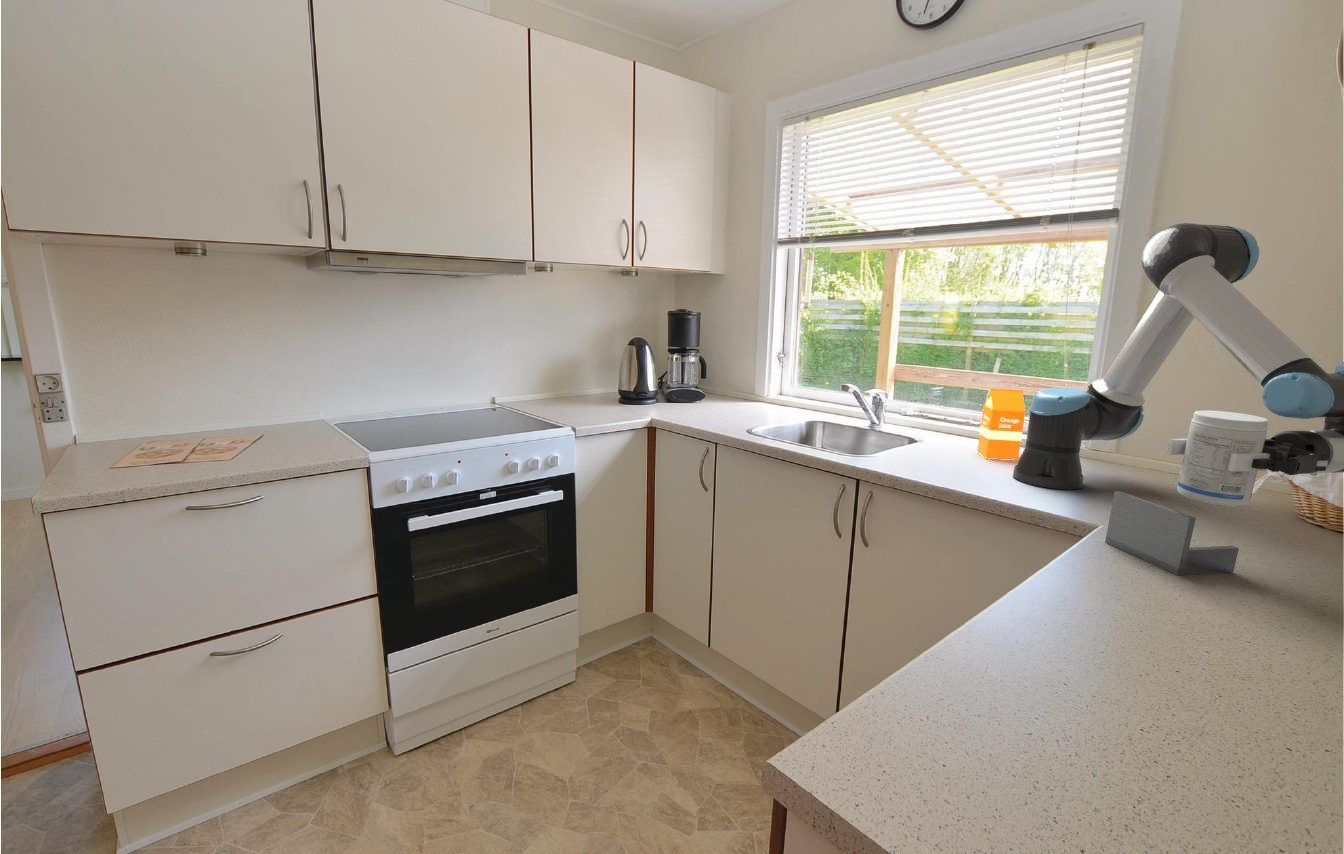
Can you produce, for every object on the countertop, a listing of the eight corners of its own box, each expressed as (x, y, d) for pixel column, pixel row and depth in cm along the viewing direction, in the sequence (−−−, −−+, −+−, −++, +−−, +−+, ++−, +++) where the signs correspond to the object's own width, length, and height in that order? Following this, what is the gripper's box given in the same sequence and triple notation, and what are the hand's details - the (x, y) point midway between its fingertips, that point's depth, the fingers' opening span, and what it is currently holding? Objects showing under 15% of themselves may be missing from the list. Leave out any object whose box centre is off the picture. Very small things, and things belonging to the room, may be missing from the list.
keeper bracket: (1105, 542, 113) (1114, 491, 111) (1155, 540, 114) (1165, 490, 112) (1177, 575, 99) (1189, 518, 97) (1233, 572, 101) (1246, 516, 99)
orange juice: (1018, 461, 172) (1028, 392, 168) (985, 459, 173) (995, 390, 169) (1008, 454, 179) (1017, 388, 175) (976, 452, 181) (985, 387, 177)
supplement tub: (1192, 487, 109) (1209, 408, 106) (1260, 504, 101) (1281, 418, 98) (1164, 494, 105) (1181, 411, 102) (1232, 511, 97) (1254, 422, 94)
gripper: (1383, 493, 95) (1269, 497, 91) (1233, 456, 116) (1134, 458, 112) (1397, 446, 93) (1281, 449, 89) (1242, 418, 114) (1142, 419, 110)
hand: (1199, 454), depth 101 cm, fingers closed on supplement tub, 9 cm apart
